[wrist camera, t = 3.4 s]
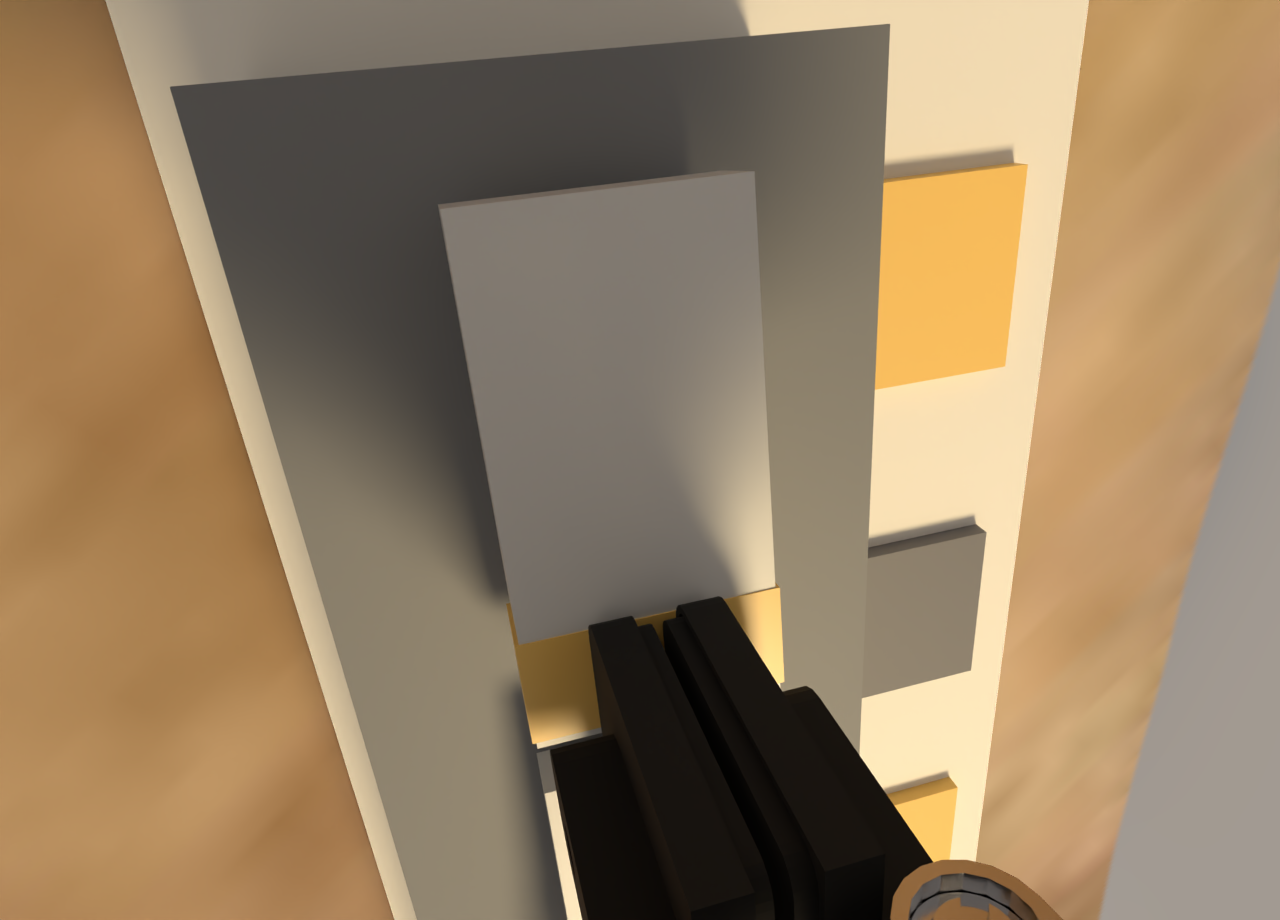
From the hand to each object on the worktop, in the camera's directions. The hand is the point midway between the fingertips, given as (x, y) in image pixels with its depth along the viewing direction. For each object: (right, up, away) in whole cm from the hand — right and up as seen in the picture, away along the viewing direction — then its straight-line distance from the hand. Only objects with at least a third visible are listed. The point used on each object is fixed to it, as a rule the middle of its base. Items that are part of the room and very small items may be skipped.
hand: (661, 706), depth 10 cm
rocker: (0, +3, -1) cm, 3 cm away
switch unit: (+1, -1, +9) cm, 10 cm away
